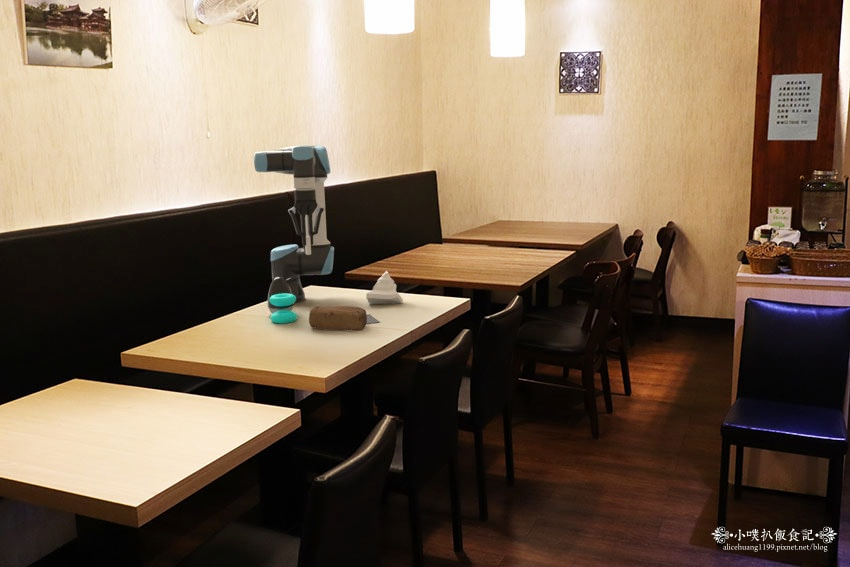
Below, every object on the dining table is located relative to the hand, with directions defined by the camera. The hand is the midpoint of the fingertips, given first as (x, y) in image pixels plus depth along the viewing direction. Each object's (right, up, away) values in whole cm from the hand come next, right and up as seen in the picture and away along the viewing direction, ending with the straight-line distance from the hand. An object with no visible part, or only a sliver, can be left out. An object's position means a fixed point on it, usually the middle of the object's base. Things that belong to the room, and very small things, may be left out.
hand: (308, 254), depth 288 cm
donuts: (-11, -25, +13) cm, 31 cm away
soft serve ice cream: (+26, -19, +39) cm, 51 cm away
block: (+1, -23, +2) cm, 23 cm away
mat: (+14, -25, +10) cm, 30 cm away
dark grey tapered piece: (-14, -23, +24) cm, 36 cm away
